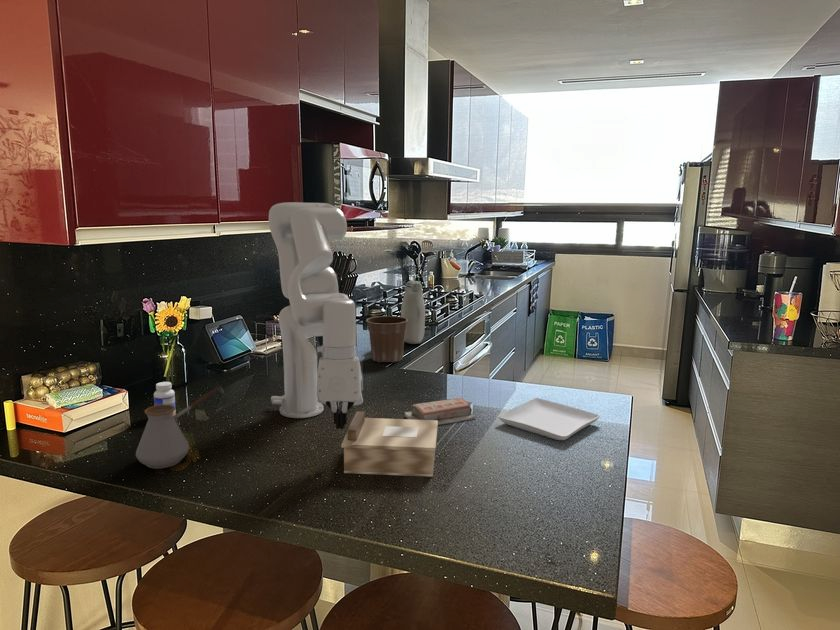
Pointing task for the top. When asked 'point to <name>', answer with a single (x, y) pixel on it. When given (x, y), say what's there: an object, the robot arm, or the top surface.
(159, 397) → the pill bottle
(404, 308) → the glass bottle
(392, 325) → the plant pot
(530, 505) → the top surface
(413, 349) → the top surface
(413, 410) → the packaged product
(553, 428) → the salad plate
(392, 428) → the lid
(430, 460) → the mailer box
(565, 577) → the top surface
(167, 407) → the coffee pot
